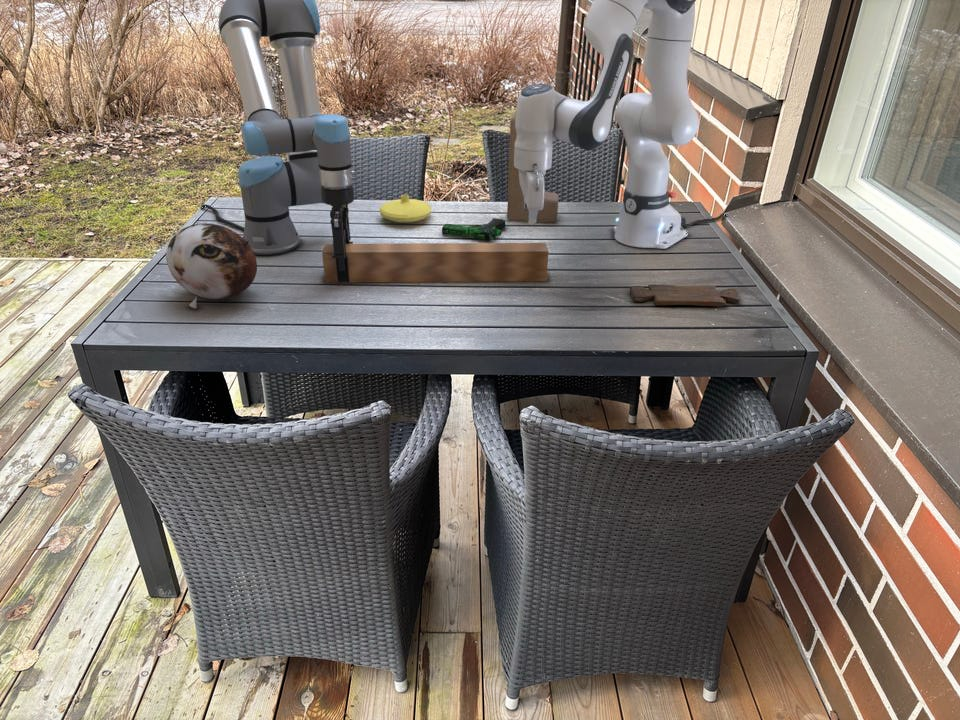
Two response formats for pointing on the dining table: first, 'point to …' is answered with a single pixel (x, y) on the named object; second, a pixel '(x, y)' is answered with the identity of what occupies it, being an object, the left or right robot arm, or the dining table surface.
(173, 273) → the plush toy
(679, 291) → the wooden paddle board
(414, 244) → the bar
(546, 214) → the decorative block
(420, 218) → the yellow knobbed lid
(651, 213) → the right robot arm
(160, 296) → the dining table surface
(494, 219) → the handgun
